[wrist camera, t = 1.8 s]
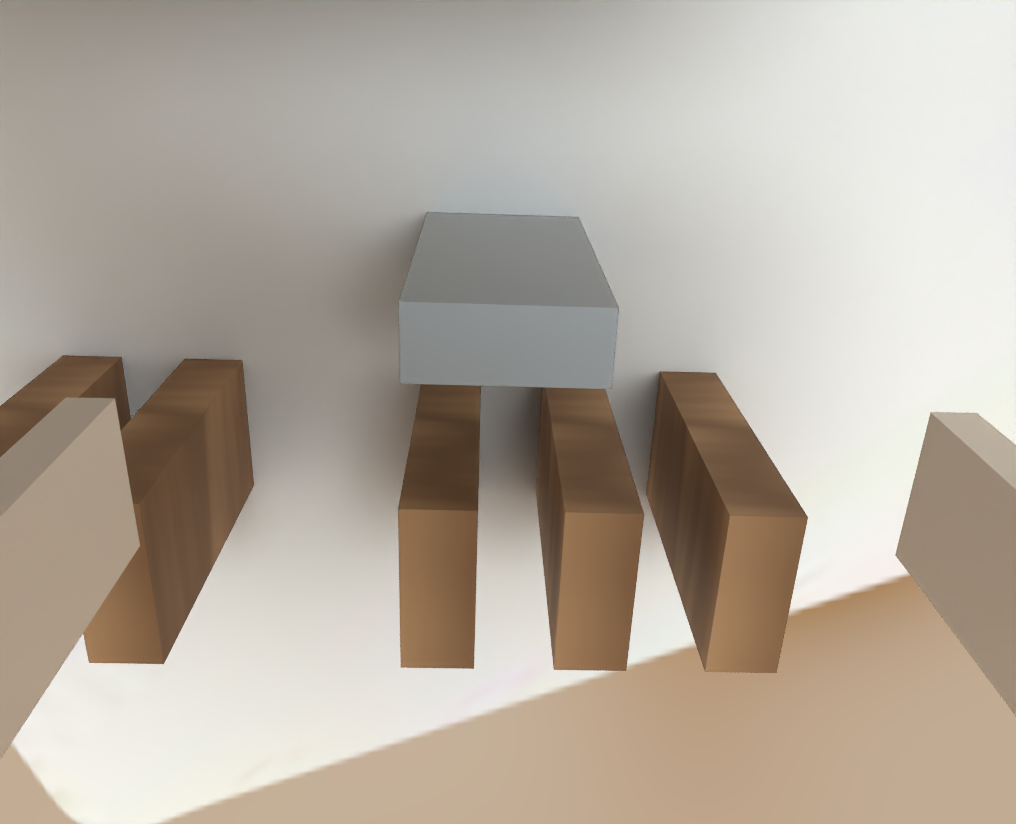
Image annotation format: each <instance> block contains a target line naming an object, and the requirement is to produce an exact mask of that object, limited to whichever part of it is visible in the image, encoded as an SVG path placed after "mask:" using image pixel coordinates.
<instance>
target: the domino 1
mask: <svg viewBox="0 0 1016 824" xmlns="http://www.w3.org/2000/svg"><path fill="white" fill-rule="evenodd" d="M66 397H70V398H115V401H116V407H117V413H118V419H119V425H120V431H121V430H122V429H123V428H124V427H125V425H126V424H127V423H128V422H129V421H130V420H131V418H130V411H129V405H128V398H127V391H126V385H125V378H124V372H123V365H122V359H121V357H96V356H62V357H61V358H60V359H58V360H57V361H56V362H55V363H53V364H52V365H51V366H50V367H48V368H47V369H46V370H45V371H43V372H42V373H41V374H40V375H38V376H37V377H36V378H35V379H33V380H32V381H31V382H30V383H28V384H27V385H26V386H25V387H23V388H22V389H21V390H20V391H18V392H17V393H16V394H15V395H13V396H12V397H11V398H10V399H8V400H7V401H6V402H5V403H4V404H2V405H1V406H0V457H1V456H2V455H3V454H5V453H6V452H7V451H8V450H9V449H10V448H11V447H12V446H13V445H14V444H15V443H17V442H18V441H19V440H20V439H21V438H22V437H23V436H24V435H25V434H26V433H28V432H29V431H30V430H31V429H32V428H33V427H34V426H35V425H36V424H37V423H39V422H40V421H41V420H42V419H43V418H44V417H45V416H46V415H47V414H48V413H49V412H51V411H52V410H53V409H54V408H55V407H56V406H57V405H58V404H59V403H60V402H62V401H63V400H64V399H65V398H66Z"/></svg>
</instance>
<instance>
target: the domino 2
mask: <svg viewBox="0 0 1016 824" xmlns="http://www.w3.org/2000/svg"><path fill="white" fill-rule="evenodd" d="M121 437H122V443H123V448H124V454H125V460H126V466H127V472H128V478H129V484H130V489H131V495H132V501H133V507H134V513H135V519H136V525H137V531H138V536H139V542H140V547H139V548H138V550H137V551H136V553H135V554H134V556H133V557H132V559H131V560H130V562H129V563H128V565H127V567H126V568H125V570H124V571H123V573H122V574H121V576H120V577H119V579H118V580H117V582H116V583H115V585H114V586H113V588H112V589H111V591H110V593H109V594H108V596H107V597H106V599H105V600H104V602H103V603H102V605H101V606H100V608H99V609H98V611H97V612H96V614H95V615H94V617H93V619H92V620H91V622H90V623H89V625H88V626H87V628H86V629H85V631H84V632H83V634H84V639H85V645H86V650H87V655H88V660H89V663H138V664H164V662H165V660H166V658H167V657H168V655H169V653H170V651H171V649H172V647H173V645H174V643H175V641H176V639H177V637H178V635H179V633H180V631H181V629H182V627H183V625H184V623H185V621H186V619H187V617H188V615H189V613H190V611H191V609H192V607H193V605H194V603H195V601H196V599H197V597H198V595H199V593H200V591H201V589H202V587H203V585H204V583H205V581H206V579H207V577H208V575H209V573H210V571H211V569H212V567H213V565H214V563H215V561H216V559H217V557H218V555H219V553H220V551H221V549H222V547H223V545H224V543H225V541H226V539H227V537H228V536H229V534H230V532H231V530H232V528H233V526H234V524H235V522H236V520H237V518H238V516H239V514H240V512H241V510H242V508H243V506H244V504H245V502H246V500H247V498H248V496H249V494H250V492H251V490H252V488H253V486H254V482H253V471H252V460H251V449H250V439H249V428H248V417H247V406H246V395H245V385H244V374H243V363H242V360H207V359H184V360H183V361H182V363H181V364H180V365H179V366H178V367H177V368H176V369H175V370H174V372H173V373H172V374H171V375H170V376H169V377H168V378H167V379H166V381H165V382H164V383H163V384H162V385H161V386H160V387H159V388H158V390H157V391H156V392H155V393H154V394H153V395H152V396H151V397H150V399H149V400H148V401H147V402H146V403H145V404H144V405H143V406H142V408H141V409H140V410H139V411H138V412H137V413H136V414H135V415H134V416H133V418H132V419H131V420H130V421H129V422H128V423H127V424H126V425H125V427H124V428H123V429H122V430H121Z"/></svg>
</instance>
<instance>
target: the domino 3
mask: <svg viewBox="0 0 1016 824" xmlns="http://www.w3.org/2000/svg"><path fill="white" fill-rule="evenodd" d="M480 395H481V386H474V385H436V384H421V388H420V393H419V399H418V404H417V410H416V415H415V420H414V426H413V431H412V437H411V442H410V448H409V453H408V458H407V464H406V469H405V475H404V480H403V486H402V491H401V497H400V502H399V507H398V528H399V588H400V648H401V667H407V668H471V669H474V643H475V605H476V566H477V527H478V485H479V440H480Z"/></svg>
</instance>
